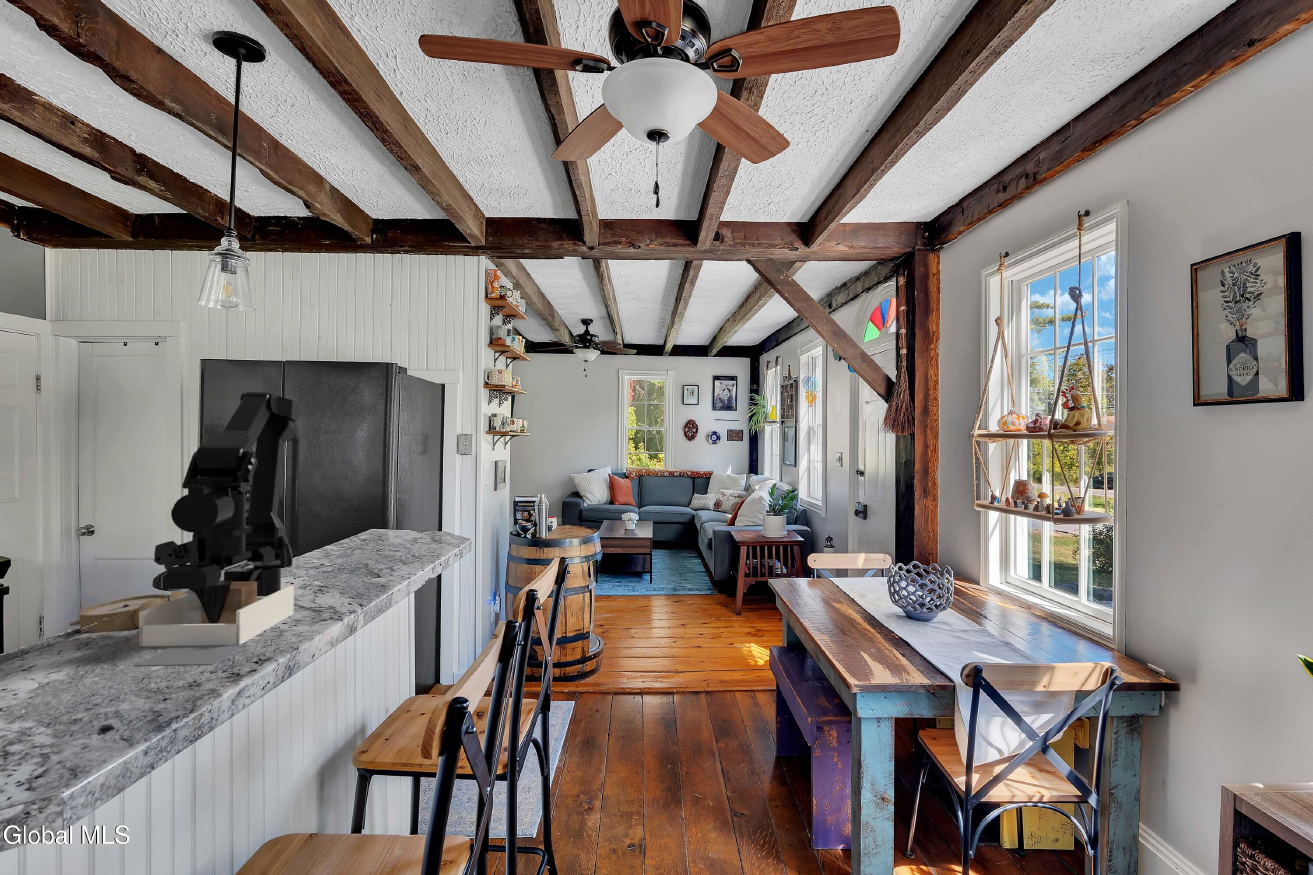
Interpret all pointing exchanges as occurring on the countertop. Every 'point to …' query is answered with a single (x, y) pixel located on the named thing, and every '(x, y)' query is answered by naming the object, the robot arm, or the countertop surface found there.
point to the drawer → (172, 628)
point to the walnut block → (236, 600)
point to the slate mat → (190, 655)
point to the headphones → (120, 612)
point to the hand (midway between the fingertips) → (222, 618)
